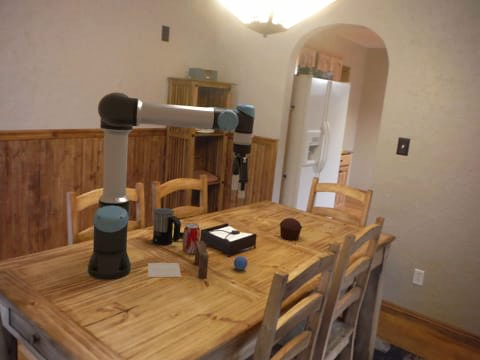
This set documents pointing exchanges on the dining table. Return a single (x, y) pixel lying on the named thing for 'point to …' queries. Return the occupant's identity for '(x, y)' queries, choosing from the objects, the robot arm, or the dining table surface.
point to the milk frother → (166, 227)
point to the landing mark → (163, 270)
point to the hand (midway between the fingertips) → (237, 193)
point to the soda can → (190, 237)
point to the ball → (240, 263)
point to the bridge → (201, 259)
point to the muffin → (290, 229)
